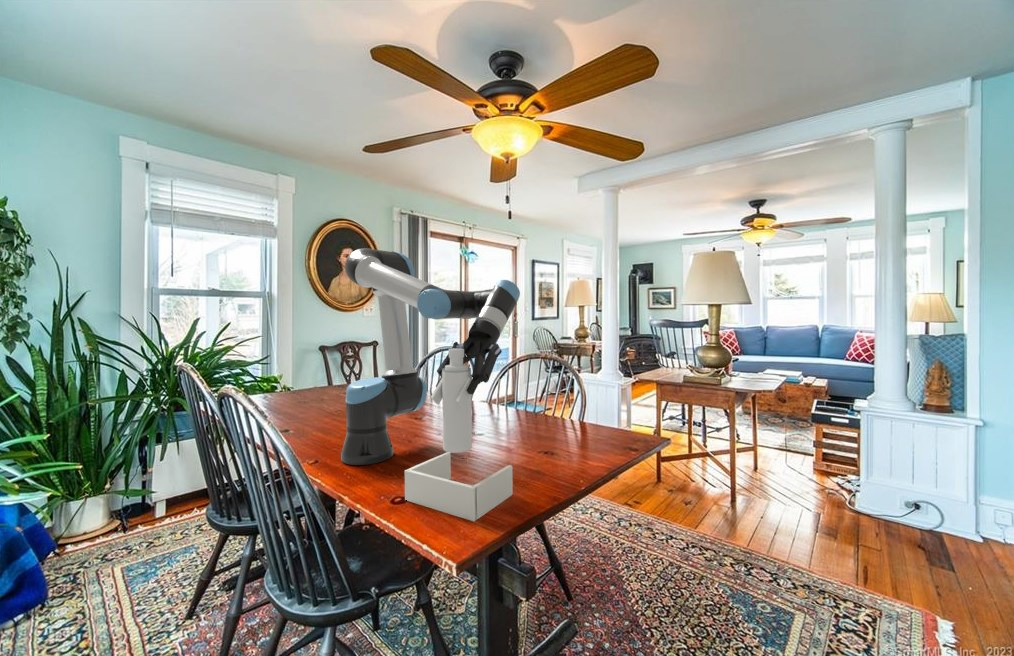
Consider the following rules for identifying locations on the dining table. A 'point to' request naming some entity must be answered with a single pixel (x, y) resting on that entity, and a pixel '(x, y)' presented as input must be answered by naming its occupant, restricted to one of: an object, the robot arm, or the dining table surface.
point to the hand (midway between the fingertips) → (447, 402)
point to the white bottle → (456, 405)
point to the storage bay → (455, 489)
